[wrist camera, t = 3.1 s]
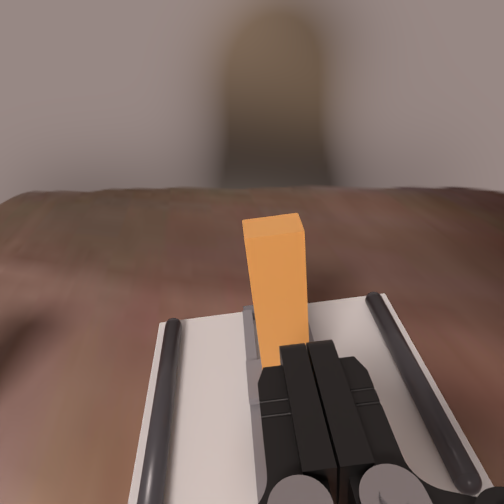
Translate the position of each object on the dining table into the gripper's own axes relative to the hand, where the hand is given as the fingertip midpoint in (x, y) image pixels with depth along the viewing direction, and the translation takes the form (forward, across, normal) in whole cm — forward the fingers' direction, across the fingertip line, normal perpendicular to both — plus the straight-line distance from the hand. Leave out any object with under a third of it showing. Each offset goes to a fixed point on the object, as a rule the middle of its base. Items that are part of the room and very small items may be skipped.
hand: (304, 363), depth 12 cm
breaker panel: (+10, 0, +15) cm, 19 cm away
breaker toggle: (+10, 0, +13) cm, 17 cm away
